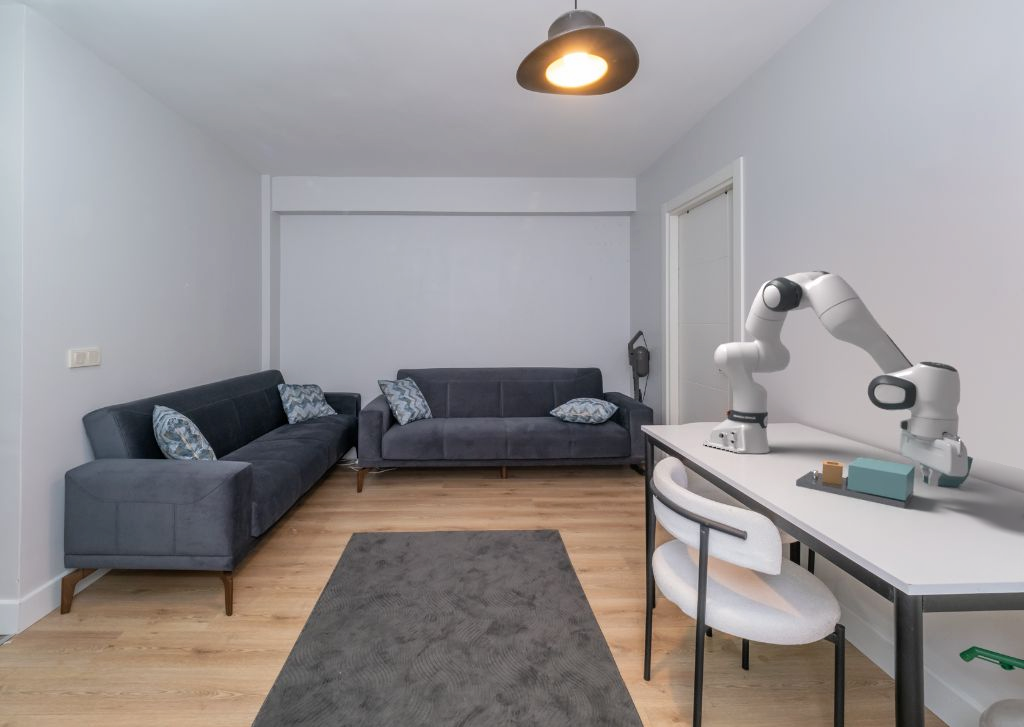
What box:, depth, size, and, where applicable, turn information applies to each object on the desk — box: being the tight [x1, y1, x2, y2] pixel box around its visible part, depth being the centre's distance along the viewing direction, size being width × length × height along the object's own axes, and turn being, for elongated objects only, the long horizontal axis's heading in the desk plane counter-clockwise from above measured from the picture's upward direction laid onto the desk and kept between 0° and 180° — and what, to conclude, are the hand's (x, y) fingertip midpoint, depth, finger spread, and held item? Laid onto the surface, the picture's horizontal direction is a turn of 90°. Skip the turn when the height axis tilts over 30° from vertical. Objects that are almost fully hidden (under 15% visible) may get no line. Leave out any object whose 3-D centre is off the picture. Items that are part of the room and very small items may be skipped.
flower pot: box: [937, 455, 974, 488], centre depth 140 cm, size 9×9×9 cm
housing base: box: [795, 470, 915, 509], centre depth 134 cm, size 24×13×6 cm, turn 43°
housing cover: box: [847, 456, 916, 500], centre depth 129 cm, size 12×12×6 cm
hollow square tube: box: [821, 459, 844, 485], centre depth 137 cm, size 5×5×5 cm
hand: (929, 483), depth 122 cm, fingers closed
